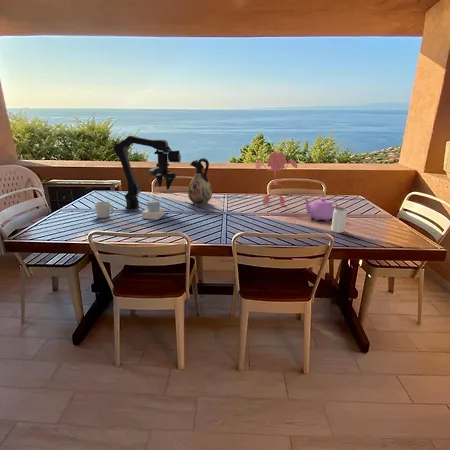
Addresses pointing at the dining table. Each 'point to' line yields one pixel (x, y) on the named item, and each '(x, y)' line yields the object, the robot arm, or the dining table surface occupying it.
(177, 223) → the dining table surface
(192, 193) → the ceramic jug
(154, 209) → the cube
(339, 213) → the can
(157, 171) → the robot arm
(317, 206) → the teapot
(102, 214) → the cup
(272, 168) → the pink artificial flower
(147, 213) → the plinth
